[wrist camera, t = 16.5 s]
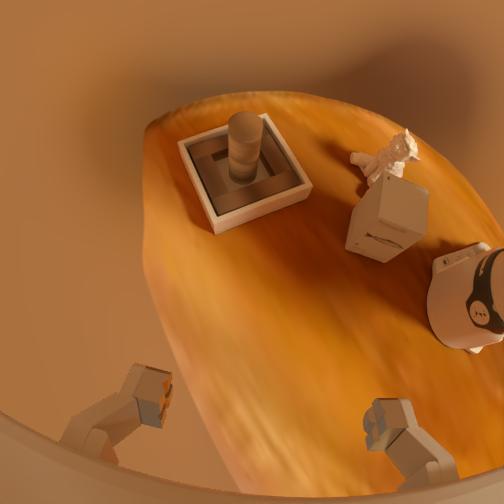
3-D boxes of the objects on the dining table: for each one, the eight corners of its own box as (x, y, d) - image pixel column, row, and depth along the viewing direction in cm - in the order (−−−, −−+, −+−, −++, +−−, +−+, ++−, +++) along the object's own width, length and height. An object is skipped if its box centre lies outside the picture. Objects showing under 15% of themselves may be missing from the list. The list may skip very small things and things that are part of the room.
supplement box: (342, 250, 47) (376, 216, 35) (351, 209, 49) (383, 167, 37) (384, 265, 47) (427, 237, 35) (391, 224, 49) (429, 188, 37)
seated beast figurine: (345, 157, 53) (369, 113, 41) (384, 152, 54) (411, 112, 42) (366, 204, 50) (397, 165, 38) (405, 196, 51) (439, 160, 40)
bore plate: (261, 132, 52) (262, 122, 50) (297, 192, 49) (300, 184, 46) (189, 156, 50) (188, 147, 47) (219, 222, 46) (219, 215, 44)
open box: (264, 127, 53) (266, 113, 50) (307, 198, 49) (313, 186, 45) (180, 156, 50) (177, 141, 47) (215, 235, 46) (213, 224, 43)
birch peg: (249, 158, 50) (254, 107, 39) (261, 179, 49) (269, 130, 38) (224, 166, 49) (223, 117, 38) (235, 188, 48) (236, 140, 37)
